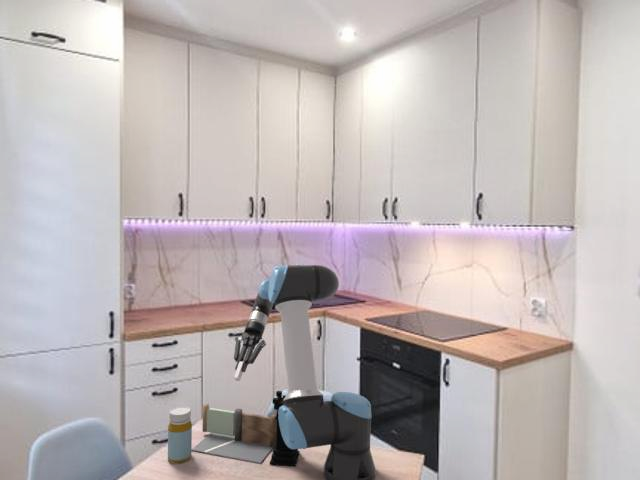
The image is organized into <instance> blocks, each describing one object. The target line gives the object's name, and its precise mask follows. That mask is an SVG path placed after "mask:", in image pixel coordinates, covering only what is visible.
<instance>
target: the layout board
mask: <svg viewBox="0 0 640 480" xmlns="http://www.w3.org/2000/svg"><path fill="white" fill-rule="evenodd" d="M273 450H274V447H270V446H269V445H263V444H257V443H251V442H246V441H242V440H240V441H235V435H234V436H228V435H222V434H216V433H210V432H209V434H208V435H206V437H204V438H203V439H202V440H201V441H200V442H198V443H197V444H196V445H195V446H194V447H193V448H191V452H194V453H195V452H196V453H199V454H200V453H201V454H207V455H211V456H217V457H222V458H228V459H232V460H233V459H234V460H239V461H244V462H250V463H253V464H260V465H261V464H262V463H263V462H264V460H265V459H266V458H267V457H268V456H269V454H270V453H271V452H272V451H273Z"/></svg>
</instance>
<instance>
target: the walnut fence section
mask: <svg viewBox="0 0 640 480" xmlns="http://www.w3.org/2000/svg"><path fill="white" fill-rule="evenodd" d="M234 412H235V441H240V440H242V441H246V442H251V443H257V444H263V445H269V446H270V447H275V445H276V433H277V420H276V419H275V416H276V414H277V413H271V414H270V415H269V416H266V415H261V414H260V415H258V414H254V413H246V412H243V409H242V408H235V410H234Z"/></svg>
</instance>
